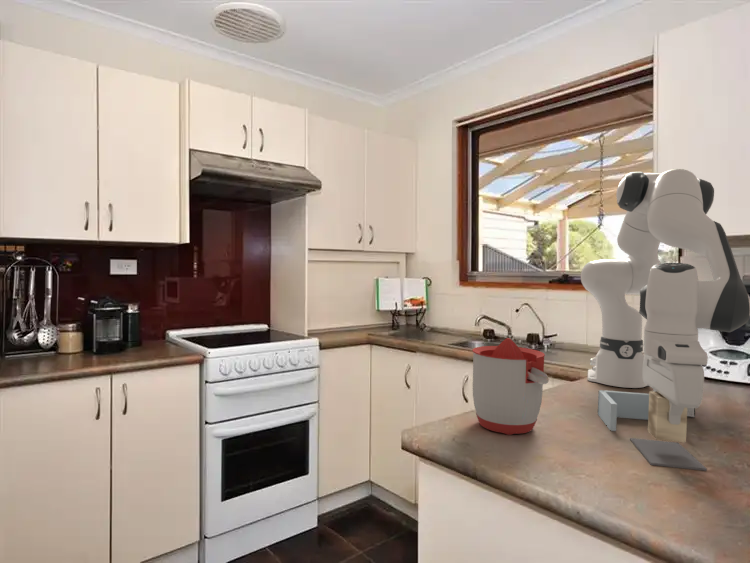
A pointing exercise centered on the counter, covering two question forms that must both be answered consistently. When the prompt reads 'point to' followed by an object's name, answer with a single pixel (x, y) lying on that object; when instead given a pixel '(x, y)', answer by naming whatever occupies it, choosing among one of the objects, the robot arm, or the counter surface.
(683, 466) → the charcoal mat
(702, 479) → the counter surface
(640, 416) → the open-side box
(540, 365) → the citrus juicer
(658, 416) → the birch block
